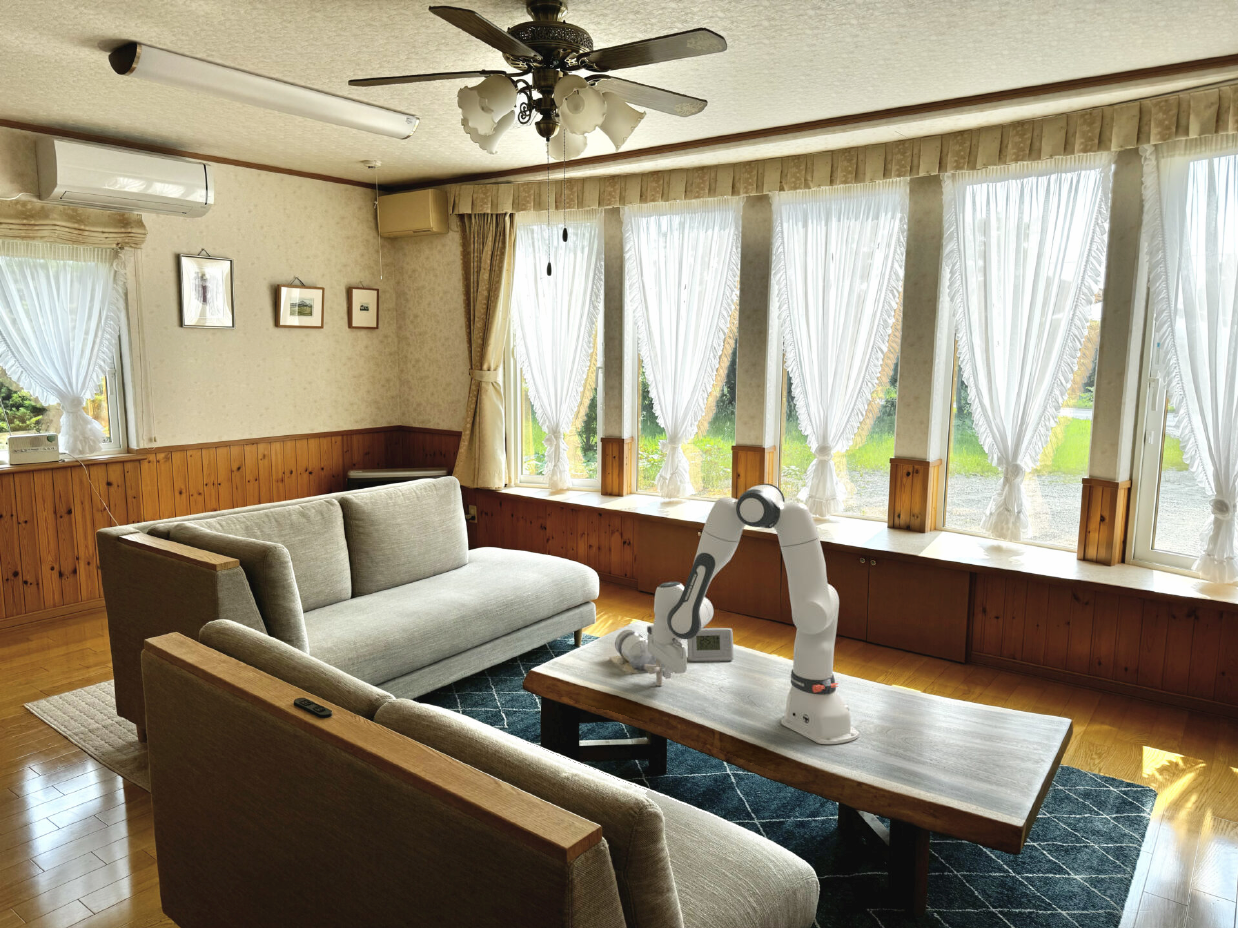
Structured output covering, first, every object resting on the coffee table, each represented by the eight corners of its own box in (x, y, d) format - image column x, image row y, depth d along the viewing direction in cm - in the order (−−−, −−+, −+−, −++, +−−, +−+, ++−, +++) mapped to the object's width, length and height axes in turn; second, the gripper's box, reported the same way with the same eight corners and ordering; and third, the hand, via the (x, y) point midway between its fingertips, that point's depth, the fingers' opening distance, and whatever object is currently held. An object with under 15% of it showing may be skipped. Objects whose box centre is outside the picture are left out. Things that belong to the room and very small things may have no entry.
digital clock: (686, 662, 284) (687, 632, 283) (686, 653, 293) (687, 623, 292) (734, 665, 283) (735, 634, 282) (732, 655, 292) (734, 626, 291)
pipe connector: (664, 689, 256) (664, 656, 257) (637, 685, 262) (637, 653, 263) (681, 683, 265) (680, 651, 265) (654, 680, 270) (654, 649, 271)
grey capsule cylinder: (661, 669, 277) (662, 638, 275) (625, 674, 272) (626, 643, 270) (643, 655, 290) (644, 625, 288) (609, 659, 285) (609, 629, 283)
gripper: (692, 643, 248) (691, 688, 250) (662, 622, 267) (660, 664, 269) (673, 645, 246) (672, 690, 248) (644, 624, 264) (643, 666, 266)
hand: (666, 676), depth 258 cm, fingers closed
